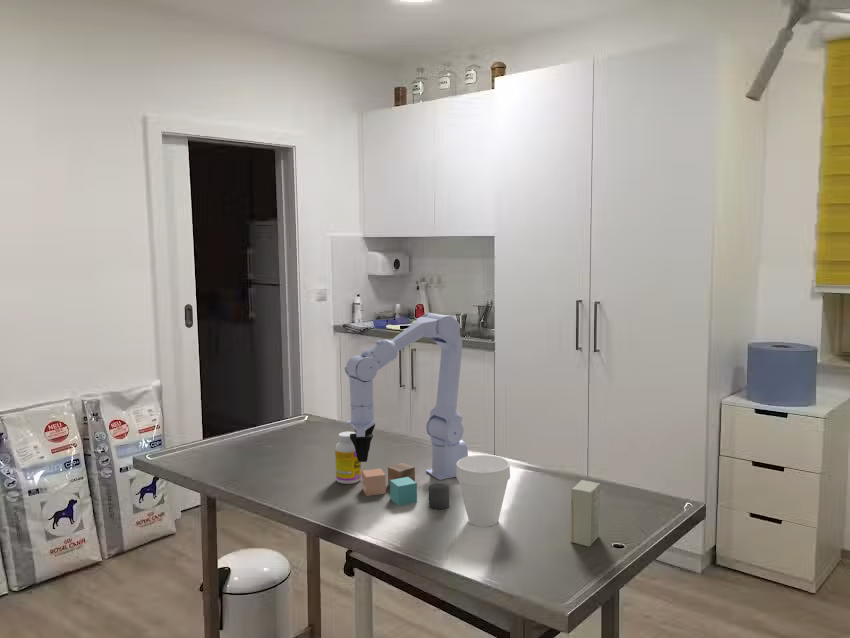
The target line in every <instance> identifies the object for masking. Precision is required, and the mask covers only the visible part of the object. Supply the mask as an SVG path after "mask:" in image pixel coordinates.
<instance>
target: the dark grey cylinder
mask: <svg viewBox="0 0 850 638" xmlns="http://www.w3.org/2000/svg"><path fill="white" fill-rule="evenodd" d="M427 487H428V490H427V491H428V509H430V510H433V511H445V510H448V509H449V508H450V485H448V484H447V483H444V482H443V483H442V482H435V483H431V484H429V485H428V486H427Z"/></svg>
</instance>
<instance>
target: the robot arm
mask: <svg viewBox="0 0 850 638" xmlns="http://www.w3.org/2000/svg"><path fill="white" fill-rule="evenodd" d="M460 331H461V323H460V322H459V321H458V319H456V318H455V317H454V316H452V315H444V314H439V313H433V312H427V313H425V314H423V315H422V316H420V317H418V318H416V320H415V322H413V323H412V324H411V325H409V326H408V327H407V328H405V329H404V330H402V331H401V332H400V333H398V334H397V335H396V336H395V337H393V338H392V339H390V340H388V339H378V340H376V342H375V345H373V346H372V347H370V348H368V349H367V350H363V351H361V354H360V355H353V356H351V357H349V359H348V361H347V362H346V365H345V367H344V372H345V374H346V375H347V376H348V379H349V394H350V396H349V399H350V400H349V401H350V420H347V421H346V426H351V427H352V428H353V430H354V432H355V433H356V434H350V439H351V441H352V442H353V444H354V447H355V450H356V455H357V459H358V462H361V463H367V461H368V458H369V452H370V449H371V442H372V440H373V437H374V434H373V432H374V429H375V427H376V420H375V410H374V409H375V407H374V382H373V381H374V379H375V378H376V376H377V373H378V371H379V370H381V369H382V368H384V367H385V366H387V365H388V364H390V363H391V362H393V361H394V360H396V359H397V357H398V352H400V351H401V350H403V349H405V348H406V347H408V346H410V345H411V344H414V343H415V342H417V341H418V340H420V339H421V338H422V339H423V338H429V339H432V340H433V341H434V342H435V343H436V344H437V346H438V347H439V348H440V349H441V352H440V362H439V372H438V381H437V383H438V385H437V393H436V404H435V406H434V407H433V408H431V410H430V412H429V418H428V420H427V422H426V424H425V425H426V426H425V430H426V433H427V434H428V436H429V437H430V441H431V468H428V469H426V471H425V472H427V474H429V475H430V476H432V477H434V478H435V479H437V480H438V481H441V480H448V479H453V478H457V477H456V470H457V465H456V463H457V461H459V460H460V459H462V458H464V457H468V455H469V452H468V451H469V450H468V445H467V443H466V442H465V440H463V437H464V432H465V431H464V427H463V422H462V421H463V416H462V415H461V413H460V411H459V410H458V409H457V406H458V395H459V386H460V384H459V383H460V375H461V365H462V354H463V353H462V352H463V339H462V337H461V333H460Z"/></svg>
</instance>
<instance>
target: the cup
mask: <svg viewBox="0 0 850 638" xmlns="http://www.w3.org/2000/svg"><path fill="white" fill-rule="evenodd" d="M456 465H457V470H456V477H455V478H456V479H457V480H458V482H459V483H458V484H459V489H460V492H461V496H462V500H463V503H464V508H465V511H466V516H467V520H468V523H469V524H470V525H472V526H476V527H478V528H479V527H482V528H488V527H493V526H496V525H497V524H498V523H499V520H500V517H501V516H500V515H501V512H502V508H503V502H504V498H505V494H506V490H507V487H508V486H507V485H508V481H509V480H510V479H511V466H510V465H511V463H510V461H509V460H507V459H505V458H503V457H501V456H500V457H499V456H497V455H496V456H495V455H489V454H486V455H485V454H480V455H478V454H477V455H469V456H468V457H464V458H462V459H460V460H459V461H457V463H456Z"/></svg>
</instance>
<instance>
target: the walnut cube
mask: <svg viewBox="0 0 850 638" xmlns="http://www.w3.org/2000/svg"><path fill="white" fill-rule="evenodd" d="M415 469H416V468H415V466H413V465H410V464H407V463H404V462H400V463H397V464H393V465H389V466H388V467H387V483H388V484H387V485H388V486H389V487H390V480H393V479H399V478H404V477H409V478H411V479H412V480H413V481H415V482H416V477H415V476H416V472H415V471H416V470H415Z"/></svg>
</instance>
